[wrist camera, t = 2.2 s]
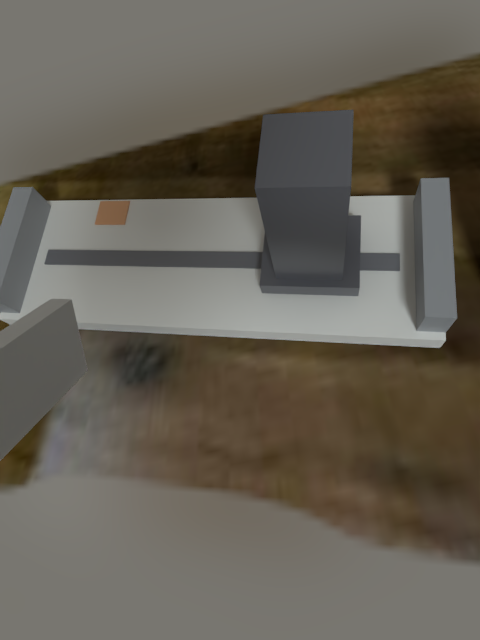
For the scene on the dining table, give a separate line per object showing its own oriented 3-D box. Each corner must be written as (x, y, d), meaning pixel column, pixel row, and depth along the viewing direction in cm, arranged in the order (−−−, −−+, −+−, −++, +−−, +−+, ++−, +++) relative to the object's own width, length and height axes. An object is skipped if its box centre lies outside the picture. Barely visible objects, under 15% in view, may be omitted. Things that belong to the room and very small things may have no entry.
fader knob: (359, 225, 29) (377, 99, 19) (358, 296, 27) (376, 196, 17) (268, 225, 30) (243, 107, 20) (261, 293, 28) (230, 198, 19)
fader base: (433, 208, 30) (448, 170, 26) (439, 347, 27) (457, 327, 23) (46, 211, 36) (15, 181, 32) (12, 325, 33) (-27, 306, 29)
